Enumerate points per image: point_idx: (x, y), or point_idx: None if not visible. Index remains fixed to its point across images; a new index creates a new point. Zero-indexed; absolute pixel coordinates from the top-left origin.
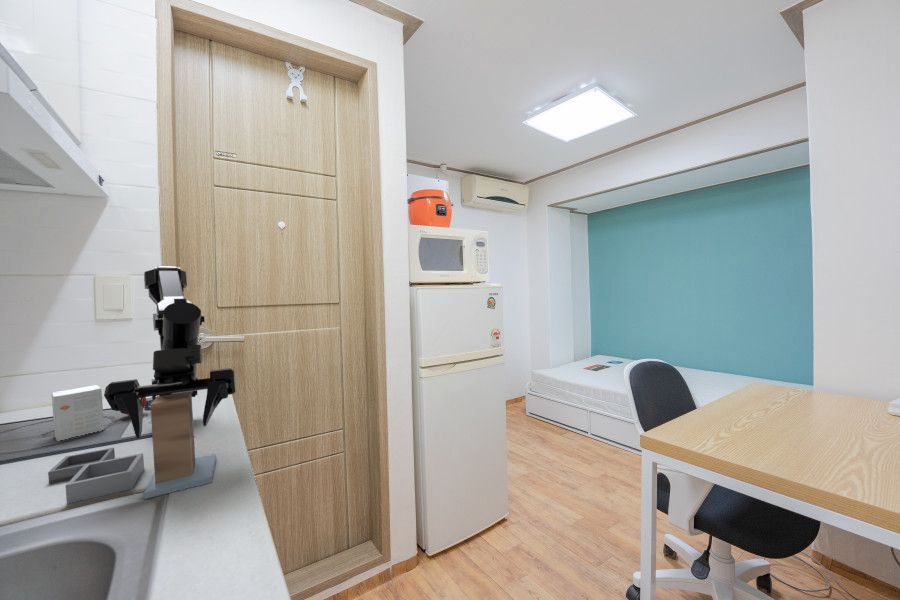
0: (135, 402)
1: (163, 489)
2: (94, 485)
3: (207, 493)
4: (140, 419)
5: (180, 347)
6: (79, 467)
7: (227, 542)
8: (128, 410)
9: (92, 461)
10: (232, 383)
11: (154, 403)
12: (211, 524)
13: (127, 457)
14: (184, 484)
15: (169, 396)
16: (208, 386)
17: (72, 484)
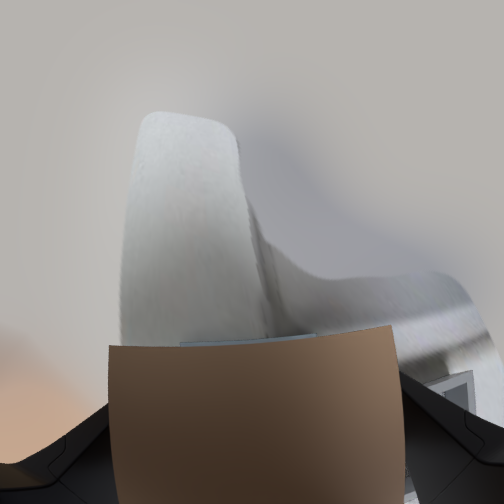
0: (499, 458)
1: (278, 337)
2: (429, 384)
3: (188, 297)
4: (422, 447)
5: None
6: None
7: (166, 158)
8: (495, 426)
9: None
10: None
11: (366, 337)
12: (180, 195)
13: (406, 494)
14: (235, 341)
15: None
16: (3, 485)
17: (464, 374)
